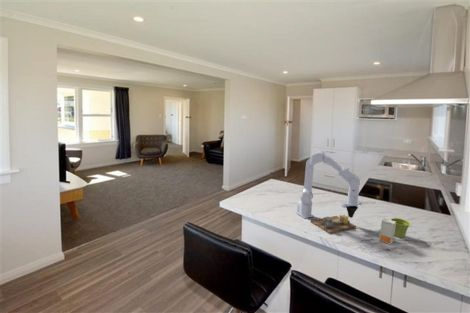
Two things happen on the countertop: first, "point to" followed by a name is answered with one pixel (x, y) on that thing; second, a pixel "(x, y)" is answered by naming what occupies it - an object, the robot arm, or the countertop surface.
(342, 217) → the leg
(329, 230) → the board
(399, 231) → the plant pot
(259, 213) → the countertop surface
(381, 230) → the skincare box
